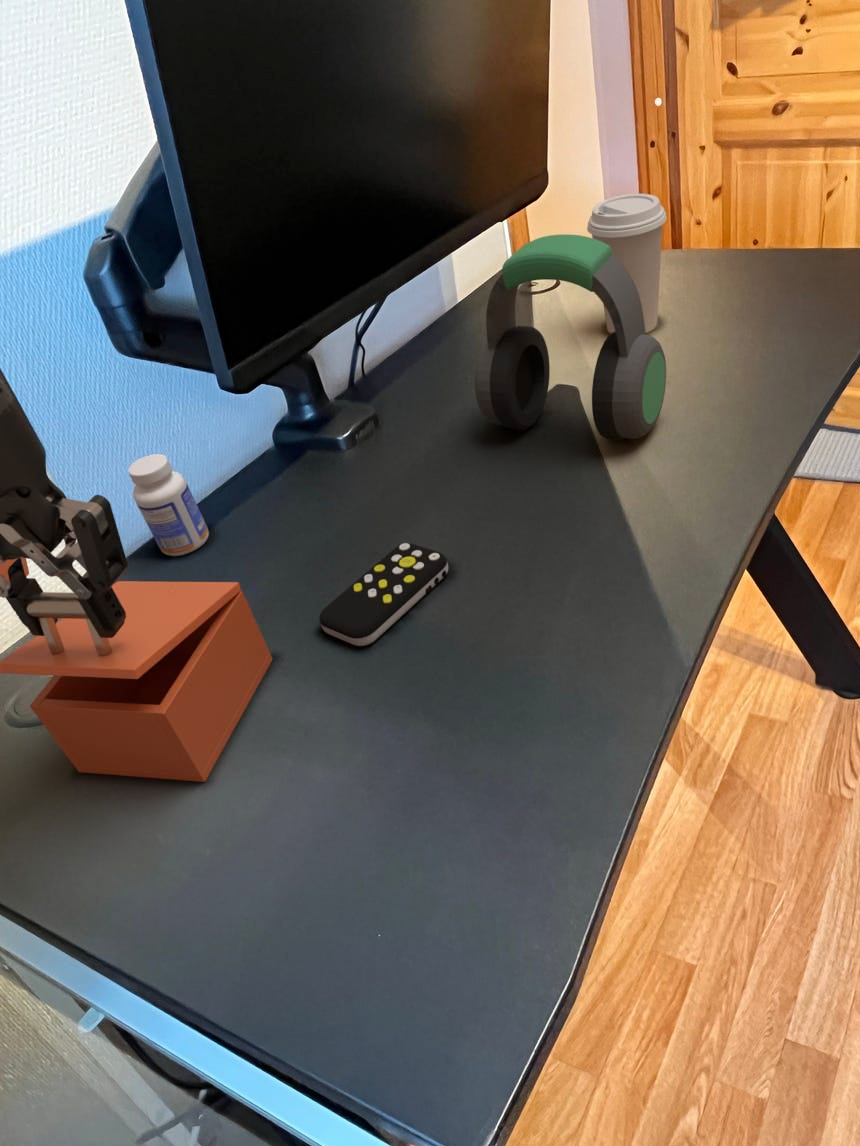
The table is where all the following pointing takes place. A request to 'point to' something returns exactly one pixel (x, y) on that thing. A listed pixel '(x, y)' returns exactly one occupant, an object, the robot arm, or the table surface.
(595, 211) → the coffee cup
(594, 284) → the headphones
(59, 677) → the orange lidded box
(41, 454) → the robot arm
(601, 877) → the table surface
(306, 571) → the table surface
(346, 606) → the remote control
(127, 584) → the box lid
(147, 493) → the pill bottle
